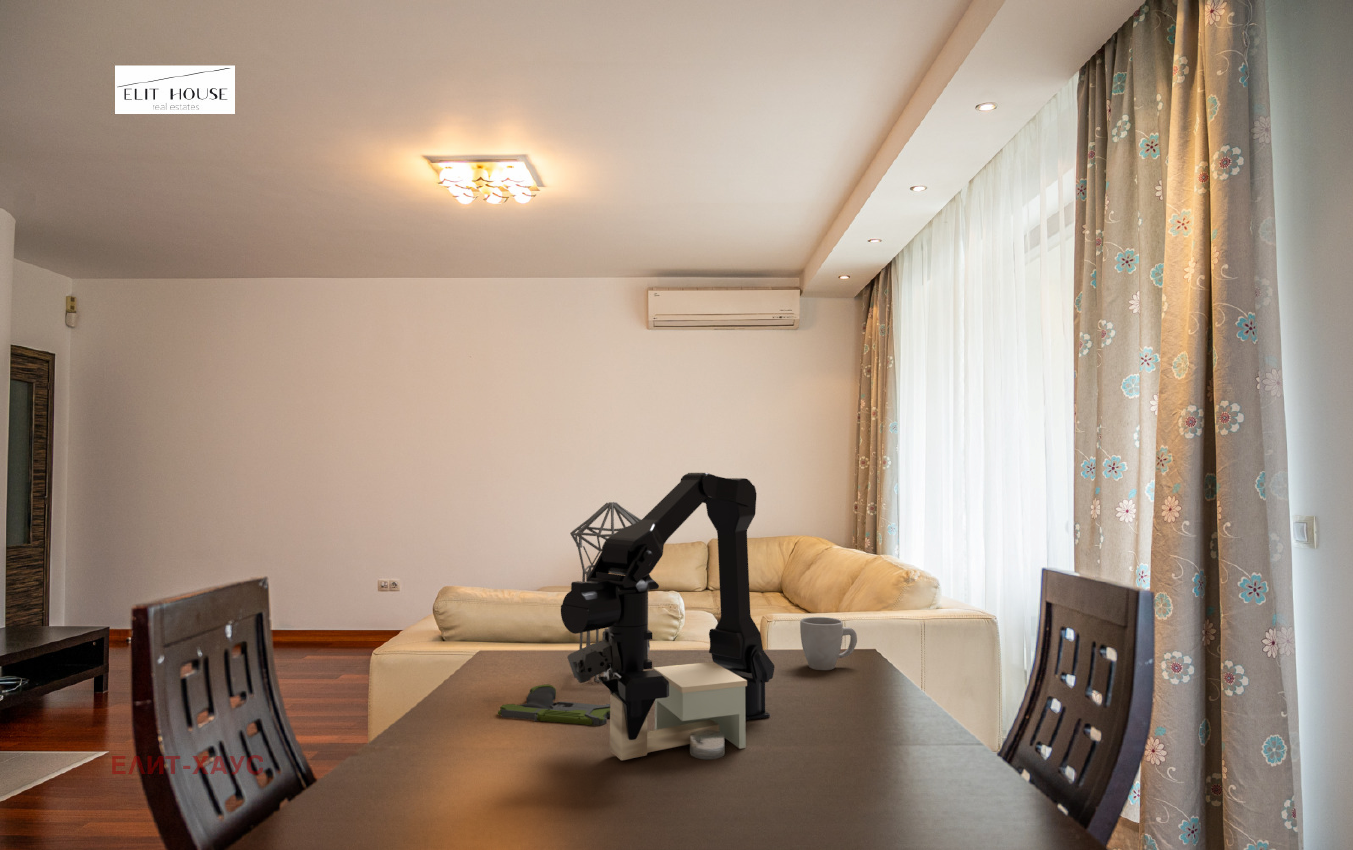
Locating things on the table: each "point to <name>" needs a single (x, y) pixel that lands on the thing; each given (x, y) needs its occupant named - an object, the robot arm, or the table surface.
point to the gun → (555, 709)
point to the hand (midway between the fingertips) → (627, 734)
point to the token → (707, 744)
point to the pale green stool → (703, 699)
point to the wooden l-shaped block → (648, 734)
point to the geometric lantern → (619, 510)
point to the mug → (824, 641)
